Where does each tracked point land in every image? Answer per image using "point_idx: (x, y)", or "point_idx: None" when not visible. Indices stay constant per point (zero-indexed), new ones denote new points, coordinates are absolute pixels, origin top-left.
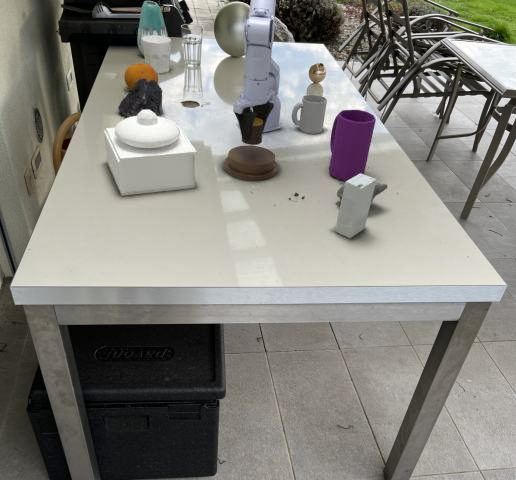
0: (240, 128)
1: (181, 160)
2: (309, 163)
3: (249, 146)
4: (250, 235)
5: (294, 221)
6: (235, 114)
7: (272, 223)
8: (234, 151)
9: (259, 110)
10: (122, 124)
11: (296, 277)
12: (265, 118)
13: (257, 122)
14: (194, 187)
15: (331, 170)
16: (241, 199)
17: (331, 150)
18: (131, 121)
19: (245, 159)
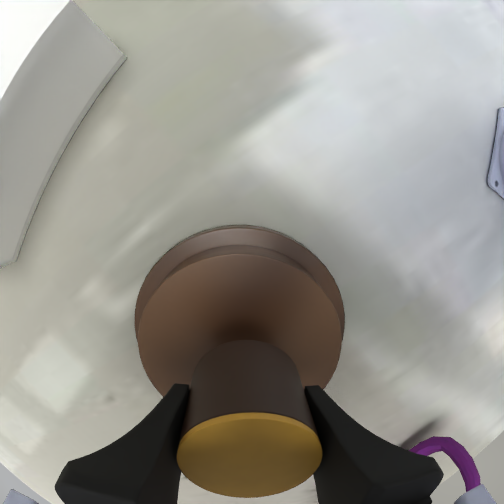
0: (151, 413)
1: None
2: (384, 414)
3: (314, 301)
4: (20, 434)
5: None
6: (83, 460)
7: (67, 456)
8: (215, 281)
9: (337, 497)
10: None
11: (30, 483)
12: (319, 492)
13: (245, 485)
14: (15, 261)
15: None
16: (68, 390)
17: (429, 445)
18: None
19: (181, 359)
